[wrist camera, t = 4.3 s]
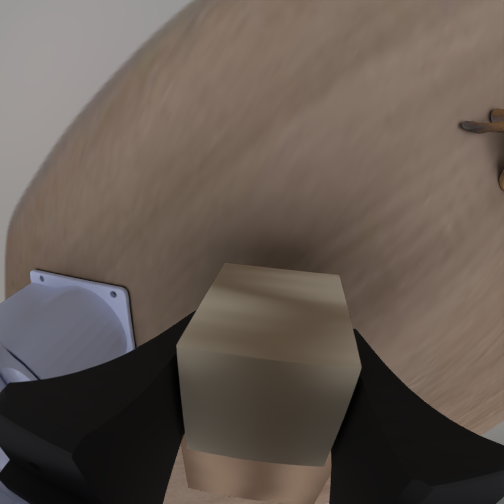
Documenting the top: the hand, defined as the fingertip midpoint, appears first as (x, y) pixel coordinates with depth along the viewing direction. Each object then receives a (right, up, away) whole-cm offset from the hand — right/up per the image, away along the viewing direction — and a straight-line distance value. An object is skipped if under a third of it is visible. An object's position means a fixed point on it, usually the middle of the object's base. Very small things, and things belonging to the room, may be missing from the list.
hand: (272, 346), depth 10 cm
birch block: (0, +1, +2) cm, 2 cm away
